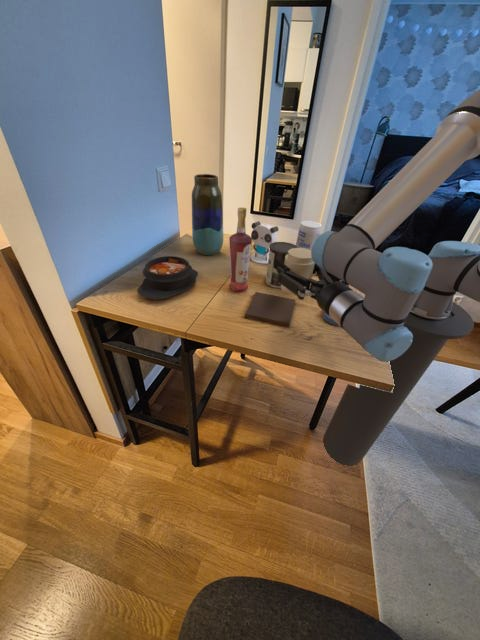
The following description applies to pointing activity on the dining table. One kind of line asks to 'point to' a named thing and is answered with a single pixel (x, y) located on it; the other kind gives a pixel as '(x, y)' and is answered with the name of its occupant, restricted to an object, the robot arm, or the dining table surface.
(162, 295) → the casserole
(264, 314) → the serving board
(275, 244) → the coffee can
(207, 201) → the vase
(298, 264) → the jar
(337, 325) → the jar lid
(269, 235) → the panda figurine
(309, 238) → the supplement tub
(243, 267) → the liquor
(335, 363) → the dining table surface
